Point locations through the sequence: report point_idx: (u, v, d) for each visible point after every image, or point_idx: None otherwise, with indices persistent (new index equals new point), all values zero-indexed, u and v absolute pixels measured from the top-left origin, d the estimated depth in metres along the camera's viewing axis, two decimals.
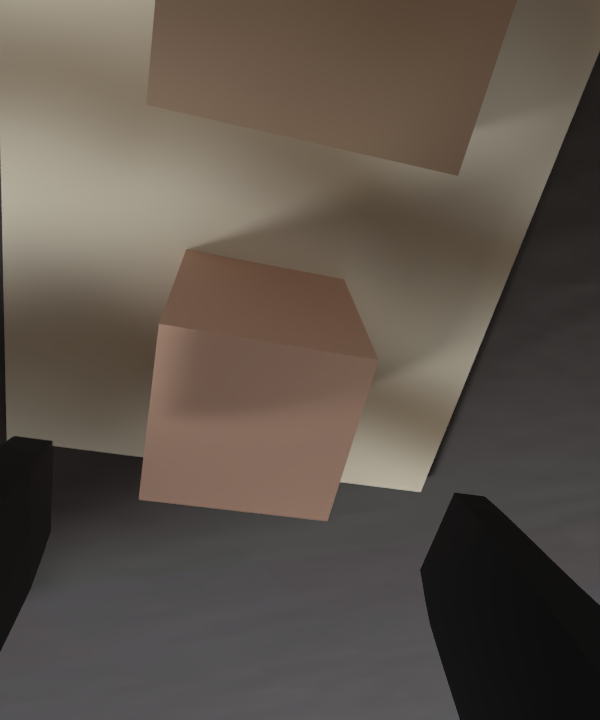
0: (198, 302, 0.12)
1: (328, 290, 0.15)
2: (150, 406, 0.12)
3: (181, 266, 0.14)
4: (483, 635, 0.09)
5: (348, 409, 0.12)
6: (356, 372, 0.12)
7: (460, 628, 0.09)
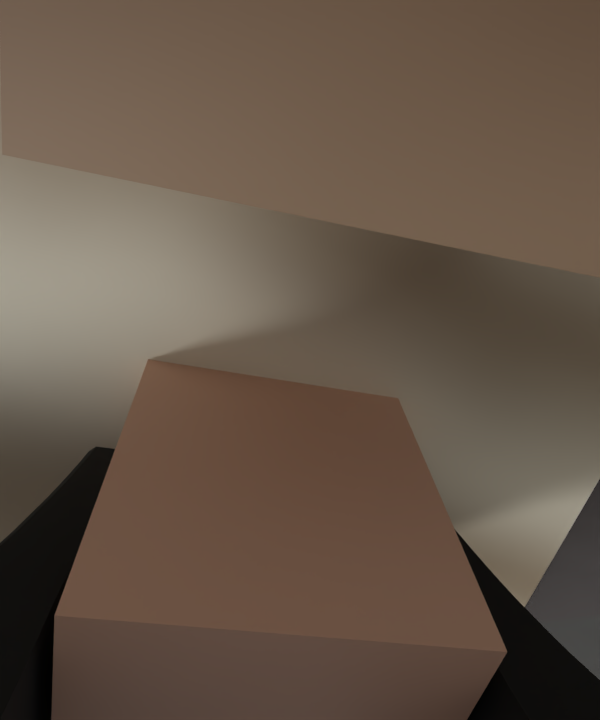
0: (151, 513, 0.06)
1: (379, 432, 0.09)
2: None
3: (133, 405, 0.08)
4: None
5: None
6: (461, 671, 0.06)
7: None
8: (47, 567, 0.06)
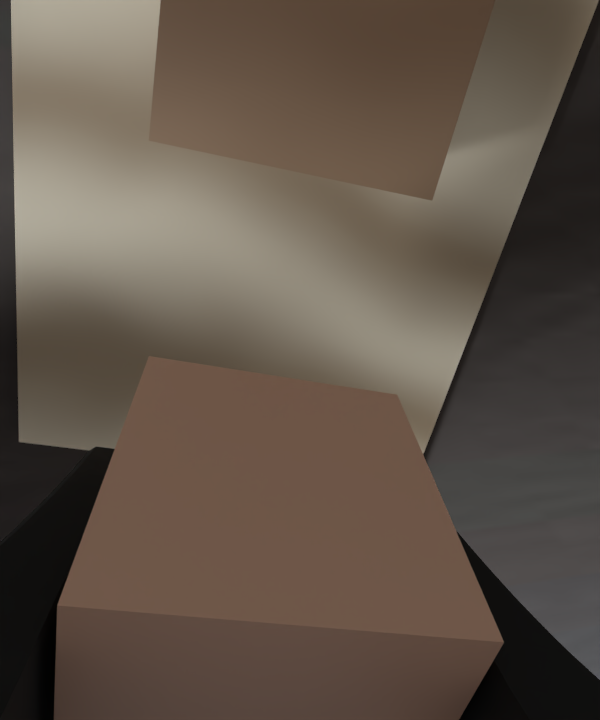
0: (153, 505, 0.06)
1: (378, 427, 0.09)
2: None
3: (134, 401, 0.08)
4: None
5: (436, 712, 0.06)
6: (458, 662, 0.06)
7: None
8: (47, 567, 0.06)
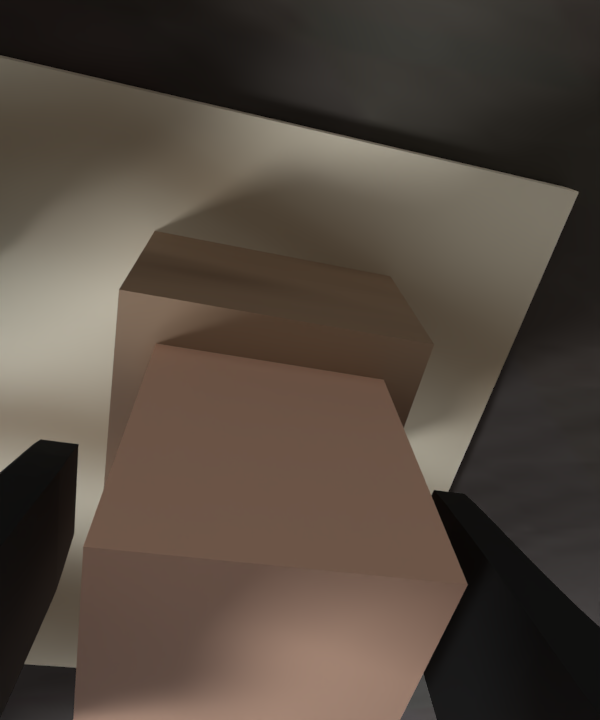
0: (162, 470, 0.07)
1: (365, 408, 0.10)
2: (78, 658, 0.07)
3: (144, 382, 0.09)
4: (459, 633, 0.09)
5: (411, 650, 0.07)
6: (428, 602, 0.07)
7: None
8: None
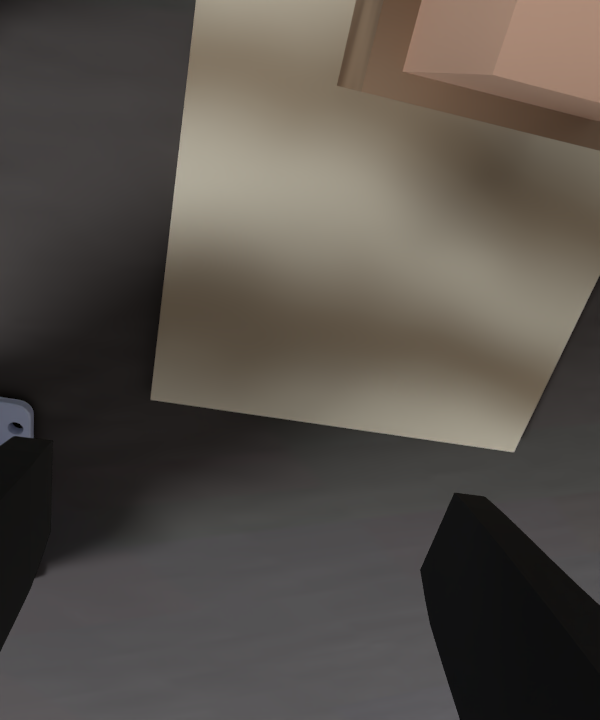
0: None
1: None
2: None
3: None
4: (483, 635, 0.09)
5: None
6: None
7: (460, 628, 0.09)
8: None
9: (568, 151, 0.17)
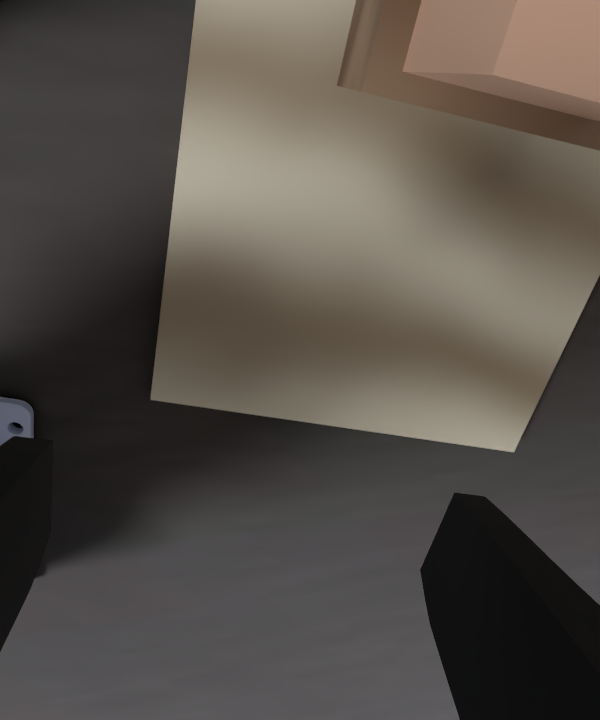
0: None
1: None
2: None
3: None
4: (483, 635, 0.09)
5: None
6: None
7: (460, 628, 0.09)
8: None
9: (568, 151, 0.17)
